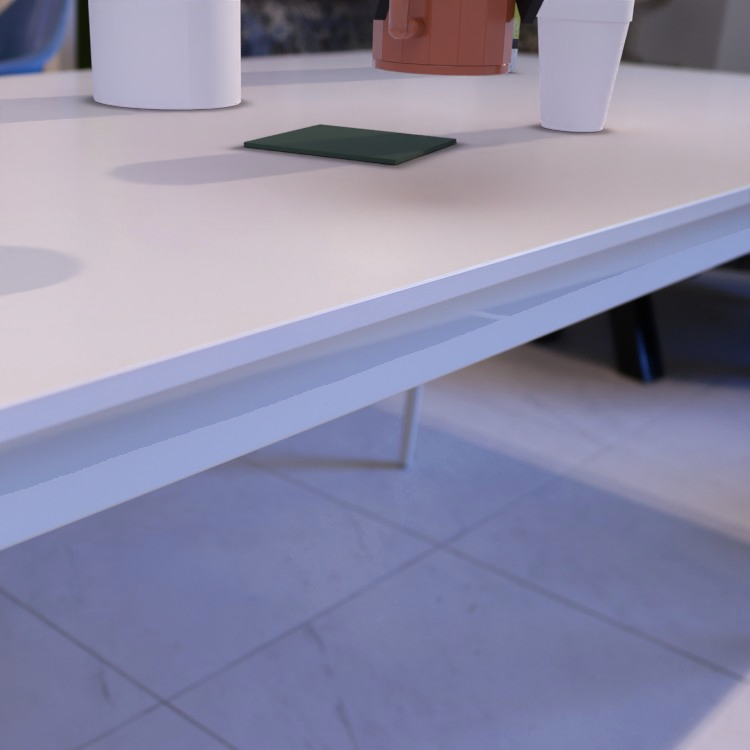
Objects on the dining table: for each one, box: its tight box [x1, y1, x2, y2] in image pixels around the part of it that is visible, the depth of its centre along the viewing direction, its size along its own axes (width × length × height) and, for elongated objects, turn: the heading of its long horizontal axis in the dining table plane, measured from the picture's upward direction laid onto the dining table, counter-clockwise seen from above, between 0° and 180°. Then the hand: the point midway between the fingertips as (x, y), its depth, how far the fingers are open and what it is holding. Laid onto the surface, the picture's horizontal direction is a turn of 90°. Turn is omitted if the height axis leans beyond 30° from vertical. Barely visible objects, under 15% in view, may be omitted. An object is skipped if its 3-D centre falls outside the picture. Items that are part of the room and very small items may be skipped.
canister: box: [87, 0, 242, 111], centre depth 113 cm, size 16×16×20 cm
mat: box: [243, 123, 458, 166], centre depth 92 cm, size 14×14×1 cm
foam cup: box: [536, 0, 635, 133], centre depth 106 cm, size 10×9×13 cm
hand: (460, 6), depth 65 cm, fingers closed on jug, 9 cm apart
